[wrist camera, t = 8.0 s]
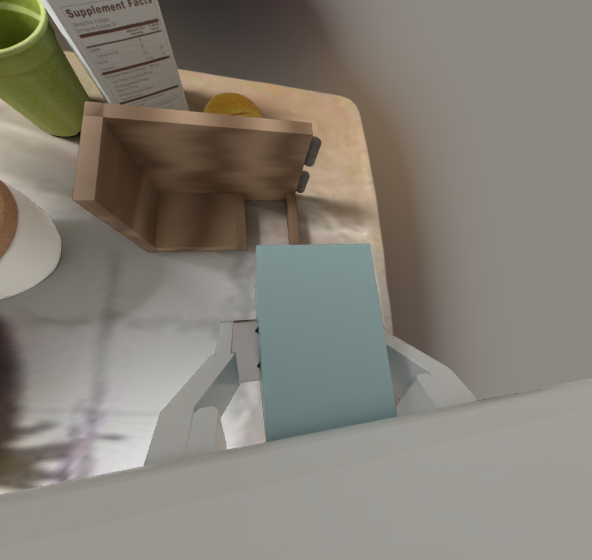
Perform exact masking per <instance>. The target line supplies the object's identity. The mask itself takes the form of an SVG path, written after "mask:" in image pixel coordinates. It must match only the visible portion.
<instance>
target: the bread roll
mask: <svg viewBox="0 0 592 560" xmlns="http://www.w3.org/2000/svg"><path fill="white" fill-rule="evenodd" d="M203 113H213V114H224V115H234V116H245V117H255V118H262V116H261V113H260V111H259V109H258V107H257V106H256V105H255V104H254V103H253V102H252V101H251V100H249V99H248V98H247V97H245V96H243V95H240V94H237V93H223V94H219V95H216V96H215V97H213V98H212V99H211V100H210V101H209V102H208V103H207V105H206V106H205V108H204V111H203Z"/></svg>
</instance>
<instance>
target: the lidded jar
mask: <svg viewBox="0 0 592 560" xmlns="http://www.w3.org/2000/svg"><path fill="white" fill-rule="evenodd" d="M60 257H61V239H60V235H59V232H58V230H57V228H56V226H55V224H54V223H53V221H52V220H51V219H50V217H49V216H48V215H47V214H46V213H45V212H44V211H43V210H42V209H41V208H40V207H39V206H38V205H37V204H36V203H35V202H33V201H32V200H31V199H29V198H28V197H27V196H25V195H24V194H22V193H21V192H20V191H18V190H17V189H15V188H13V187H12V186H10V185H9V184H7V183H5V182H4V181H2V180H0V299H3V298H7V297H10V296H13V295H16V294H18V293H21V292H23V291H26V290H28V289H30V288H32V287H33V286H35V285H37V284H38V283H40V282H41V281H42V280H44V279H45V278H47V277H48V276H49V275H50V274H51V273H52V272H53V271H54V270H55V269H56V267H57V265H58V264H59V261H60Z"/></svg>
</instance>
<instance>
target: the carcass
mask: <svg viewBox="0 0 592 560" xmlns="http://www.w3.org/2000/svg"><path fill="white" fill-rule="evenodd" d="M320 146H321V140H320V139H319V138H318V137H315V136H313V132H312V124H311V123H307V122H297V121H287V120H276V119H266V118H255V117H245V116H234V115H224V114H213V113H203V112H193V111H182V110H172V109H161V108H151V107H140V106H130V105H119V104H109V103H99V102H88V101H85V104H84V112H83V120H82V128H81V136H80V144H79V152H78V160H77V168H76V175H75V183H74V191H73V199H72V200H73V201H75V202H76V203H78V204H79V205H81V206H82V207H83V208H85V209H86V210H88V211H89V212H91V213H92V214H94V215H95V216H97V217H98V218H99V219H101V220H102V221H104V222H105V223H107V224H108V225H110V226H111V227H113V228H114V229H115V230H117V231H118V232H120V233H121V234H123V235H124V236H126V237H127V238H129V239H130V240H131V241H133V242H134V243H136V244H137V245H139V246H140V247H142V248H143V249H145V250H146V251H147V252H174V251H221V250H247V240H246V218H245V200H265V201H286V213H287V225H288V236H289V245H300V237H299V227H298V217H297V206H296V196H295V193H296V191H297V192H298V193H303V192H304V190H305V188H306V185H307V182H308V179H309V173H308V172H307V171H302V170H303V166H304V164H305V165H306V166H313V165H314V163H315V160H316V157H317V154H318V151H319V149H320Z"/></svg>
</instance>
